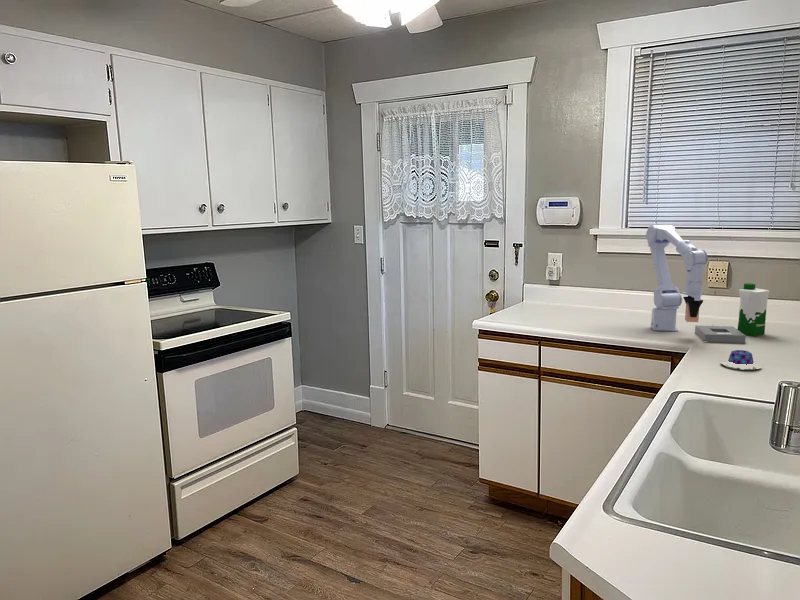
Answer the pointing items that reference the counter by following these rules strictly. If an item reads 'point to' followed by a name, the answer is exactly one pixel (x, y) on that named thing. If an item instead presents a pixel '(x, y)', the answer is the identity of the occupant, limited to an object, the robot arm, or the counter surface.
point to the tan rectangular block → (687, 315)
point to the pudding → (741, 357)
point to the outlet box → (720, 334)
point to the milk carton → (752, 310)
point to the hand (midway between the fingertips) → (691, 315)
